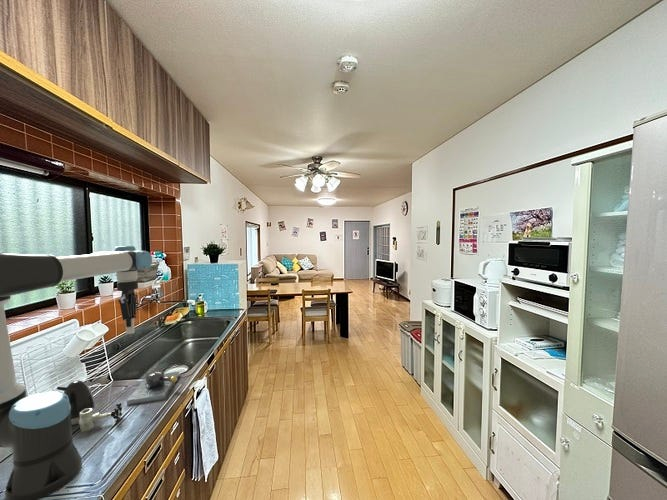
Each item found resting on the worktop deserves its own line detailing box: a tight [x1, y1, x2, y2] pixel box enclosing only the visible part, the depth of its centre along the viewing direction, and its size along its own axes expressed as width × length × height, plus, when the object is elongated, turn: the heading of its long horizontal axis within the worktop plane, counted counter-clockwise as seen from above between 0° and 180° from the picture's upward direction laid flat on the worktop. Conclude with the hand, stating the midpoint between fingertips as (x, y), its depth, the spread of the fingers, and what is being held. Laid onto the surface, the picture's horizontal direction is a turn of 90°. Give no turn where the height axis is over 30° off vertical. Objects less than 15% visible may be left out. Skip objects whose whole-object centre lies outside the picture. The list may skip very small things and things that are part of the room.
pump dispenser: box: [56, 380, 96, 426], centre depth 107 cm, size 10×10×15 cm
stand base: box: [126, 367, 180, 406], centre depth 129 cm, size 22×14×6 cm, turn 15°
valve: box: [78, 402, 123, 433], centre depth 104 cm, size 7×7×12 cm
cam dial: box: [145, 369, 178, 388], centre depth 128 cm, size 16×7×5 cm, turn 77°
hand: (130, 333), depth 127 cm, fingers closed
